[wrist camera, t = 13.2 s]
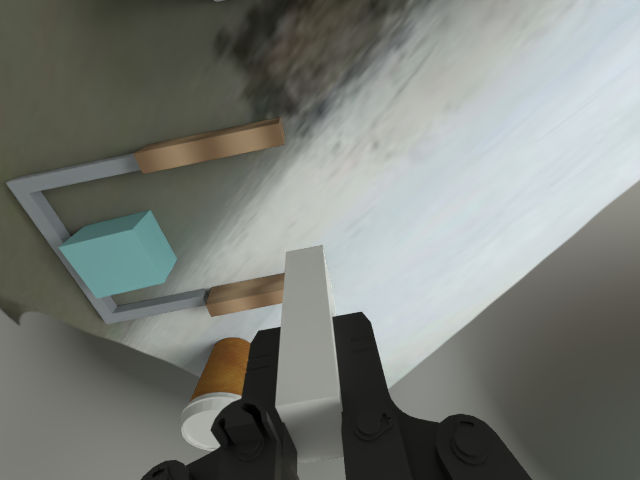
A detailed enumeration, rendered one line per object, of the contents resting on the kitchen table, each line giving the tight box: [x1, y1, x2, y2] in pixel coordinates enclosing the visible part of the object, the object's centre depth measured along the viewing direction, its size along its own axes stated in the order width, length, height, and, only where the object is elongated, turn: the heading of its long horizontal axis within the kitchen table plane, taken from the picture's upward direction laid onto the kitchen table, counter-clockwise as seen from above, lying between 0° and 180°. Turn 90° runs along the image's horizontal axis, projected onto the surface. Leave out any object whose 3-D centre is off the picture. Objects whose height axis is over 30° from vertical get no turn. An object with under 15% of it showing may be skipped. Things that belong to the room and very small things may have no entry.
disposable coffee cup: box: [180, 338, 250, 451], centre depth 44 cm, size 10×10×12 cm
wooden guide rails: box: [134, 117, 285, 317], centre depth 37 cm, size 14×21×4 cm, turn 11°
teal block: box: [58, 210, 177, 298], centre depth 37 cm, size 8×7×5 cm
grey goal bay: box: [5, 153, 208, 324], centre depth 38 cm, size 14×20×2 cm
